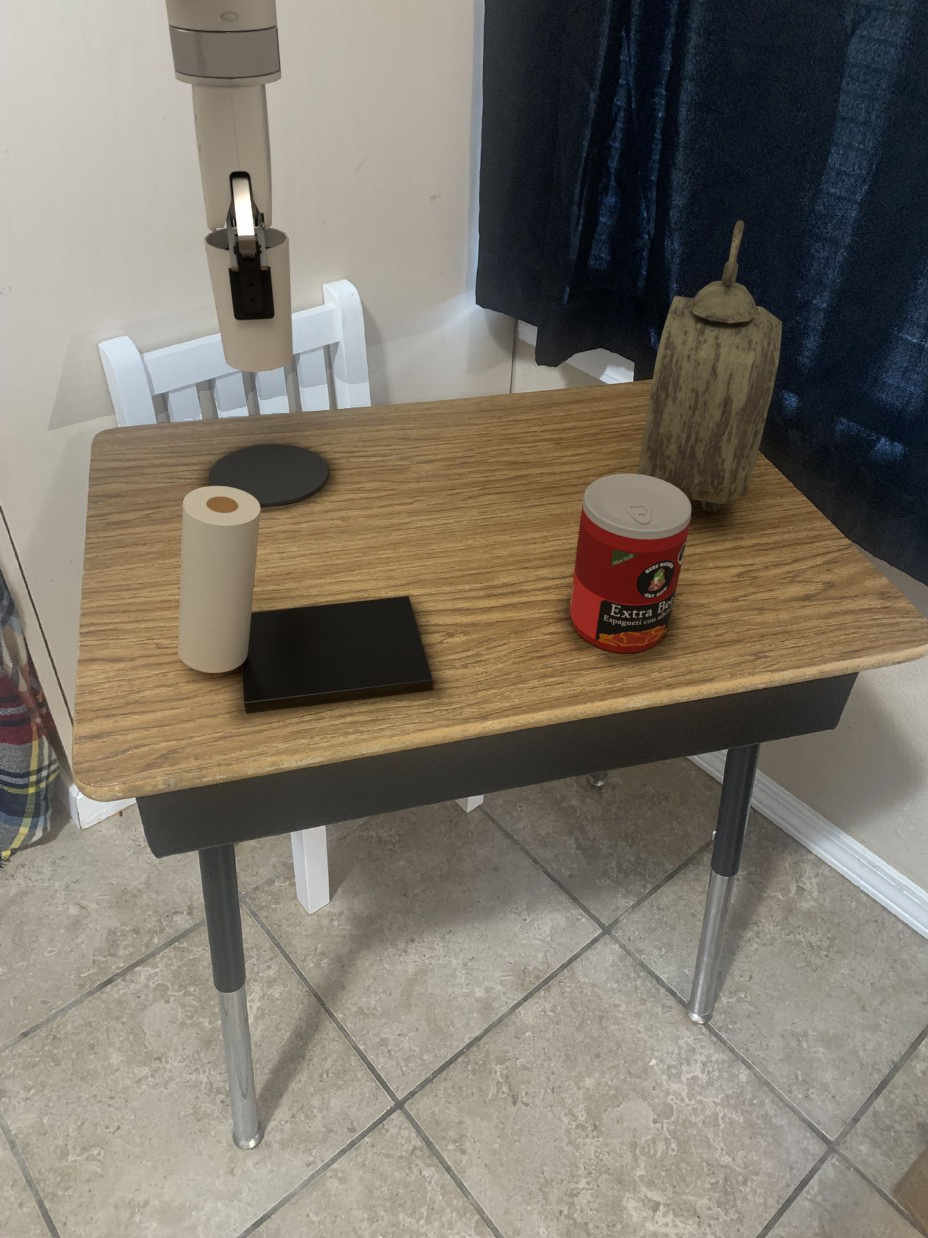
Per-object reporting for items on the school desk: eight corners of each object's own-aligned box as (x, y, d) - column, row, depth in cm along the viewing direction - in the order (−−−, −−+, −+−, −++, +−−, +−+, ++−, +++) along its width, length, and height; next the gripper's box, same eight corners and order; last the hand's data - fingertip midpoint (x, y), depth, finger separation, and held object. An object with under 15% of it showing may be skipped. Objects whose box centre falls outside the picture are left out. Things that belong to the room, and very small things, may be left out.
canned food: (598, 665, 72) (617, 539, 65) (550, 603, 77) (563, 481, 71) (688, 642, 74) (715, 519, 67) (635, 584, 80) (655, 464, 73)
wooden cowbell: (648, 462, 96) (693, 193, 80) (743, 478, 94) (807, 205, 78) (626, 540, 85) (673, 246, 69) (732, 559, 83) (805, 261, 67)
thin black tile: (245, 713, 67) (243, 703, 66) (240, 623, 74) (238, 613, 74) (433, 690, 69) (433, 679, 68) (409, 605, 77) (409, 595, 76)
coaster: (210, 511, 86) (209, 507, 86) (208, 452, 95) (208, 448, 95) (334, 501, 88) (334, 497, 88) (322, 443, 97) (322, 439, 97)
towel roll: (249, 674, 68) (177, 673, 66) (246, 631, 72) (177, 629, 70) (262, 526, 61) (182, 522, 59) (258, 487, 65) (183, 482, 63)
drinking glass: (216, 375, 81) (200, 252, 75) (222, 343, 86) (206, 225, 80) (298, 373, 82) (288, 251, 76) (298, 341, 87) (289, 225, 81)
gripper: (174, 35, 76) (205, 270, 87) (169, 76, 63) (207, 347, 74) (272, 35, 77) (290, 267, 88) (288, 76, 64) (307, 341, 75)
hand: (252, 301), depth 81 cm, fingers closed on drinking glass, 5 cm apart
